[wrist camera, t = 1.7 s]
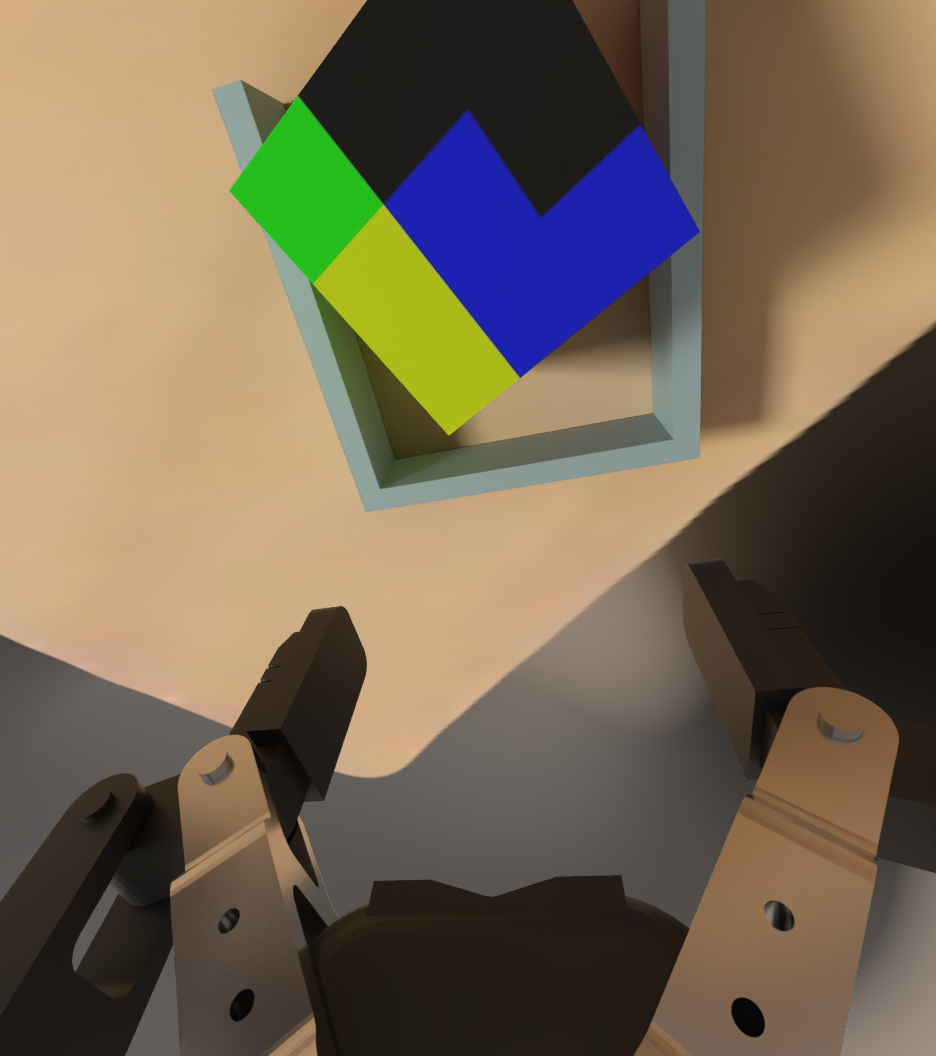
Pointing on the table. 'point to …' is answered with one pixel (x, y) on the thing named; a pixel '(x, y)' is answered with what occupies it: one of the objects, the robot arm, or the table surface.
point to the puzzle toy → (465, 190)
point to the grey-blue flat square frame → (674, 311)
